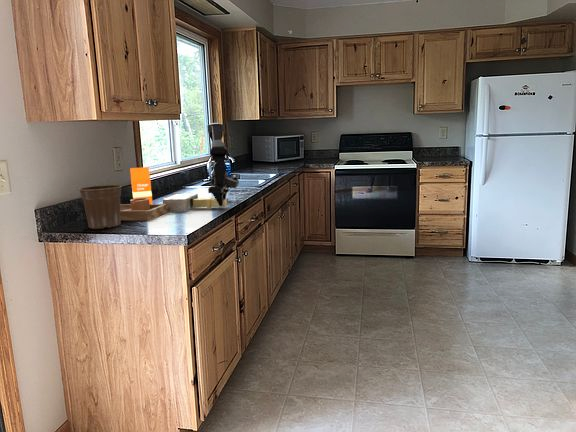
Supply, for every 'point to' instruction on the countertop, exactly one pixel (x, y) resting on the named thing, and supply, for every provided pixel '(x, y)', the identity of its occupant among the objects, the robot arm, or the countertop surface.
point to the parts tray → (143, 212)
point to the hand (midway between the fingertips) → (222, 205)
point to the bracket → (139, 204)
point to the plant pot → (102, 205)
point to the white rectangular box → (180, 202)
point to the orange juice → (141, 183)
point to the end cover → (208, 203)
